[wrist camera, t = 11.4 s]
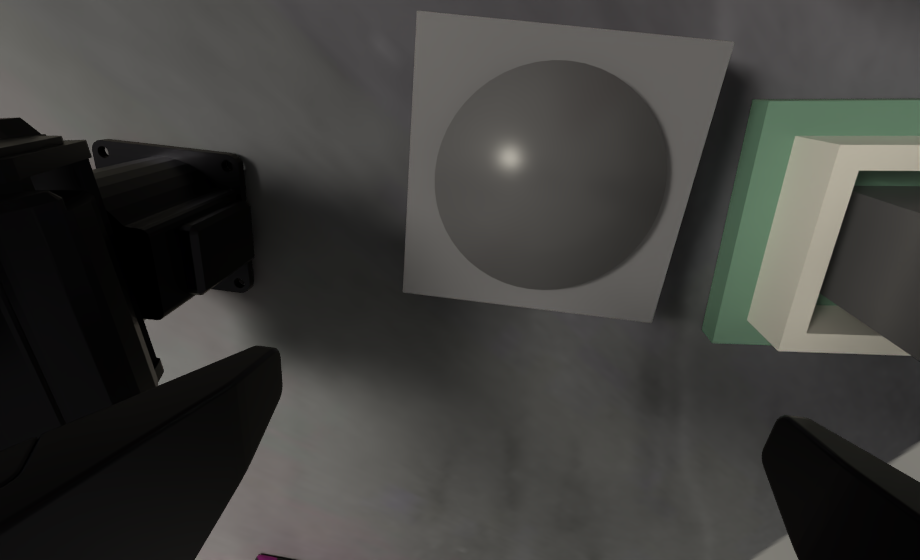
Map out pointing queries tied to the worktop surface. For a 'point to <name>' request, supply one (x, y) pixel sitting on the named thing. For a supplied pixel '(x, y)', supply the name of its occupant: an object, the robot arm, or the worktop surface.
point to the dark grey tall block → (880, 263)
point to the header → (804, 219)
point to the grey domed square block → (553, 161)
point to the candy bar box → (268, 558)
